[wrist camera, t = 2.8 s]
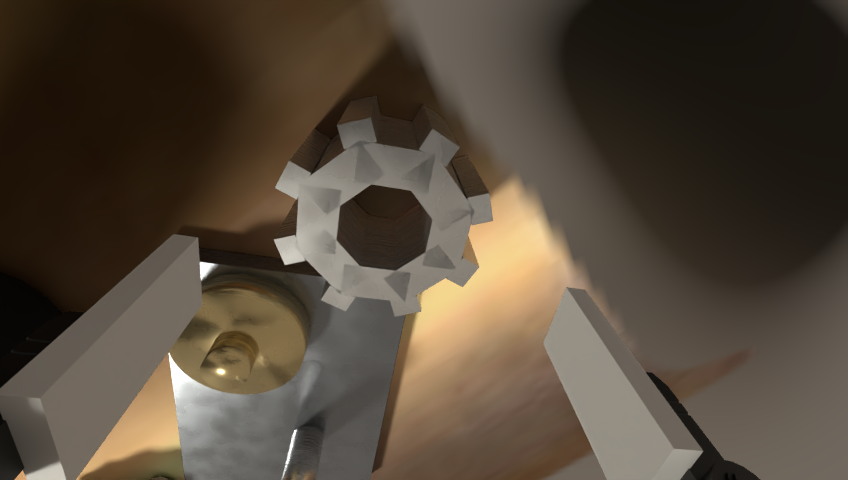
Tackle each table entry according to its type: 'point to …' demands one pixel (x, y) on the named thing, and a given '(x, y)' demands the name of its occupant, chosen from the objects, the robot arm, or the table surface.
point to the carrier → (280, 374)
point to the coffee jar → (21, 312)
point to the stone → (159, 478)
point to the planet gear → (379, 236)
